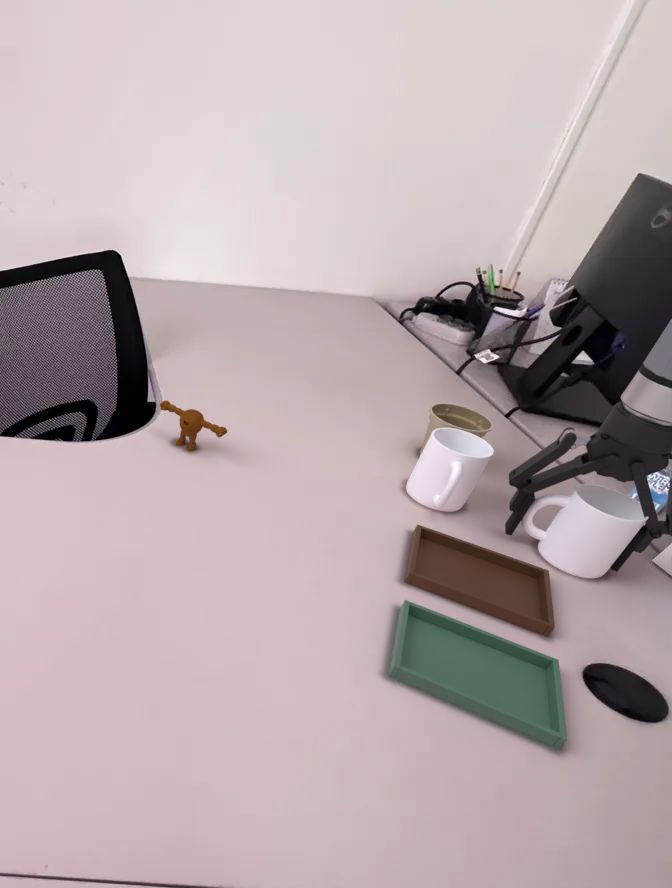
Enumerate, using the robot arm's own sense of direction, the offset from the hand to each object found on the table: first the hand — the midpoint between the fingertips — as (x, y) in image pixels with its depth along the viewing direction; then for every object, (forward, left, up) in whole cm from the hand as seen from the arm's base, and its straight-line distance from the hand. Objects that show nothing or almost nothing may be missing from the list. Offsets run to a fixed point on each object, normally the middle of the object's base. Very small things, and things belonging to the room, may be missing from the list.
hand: (559, 547), depth 94 cm
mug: (0, 0, -2) cm, 2 cm away
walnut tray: (+10, +14, -1) cm, 17 cm away
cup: (+16, -3, -2) cm, 16 cm away
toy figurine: (+53, +6, -2) cm, 53 cm away
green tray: (+10, +32, -1) cm, 34 cm away
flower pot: (+16, -18, -2) cm, 24 cm away
